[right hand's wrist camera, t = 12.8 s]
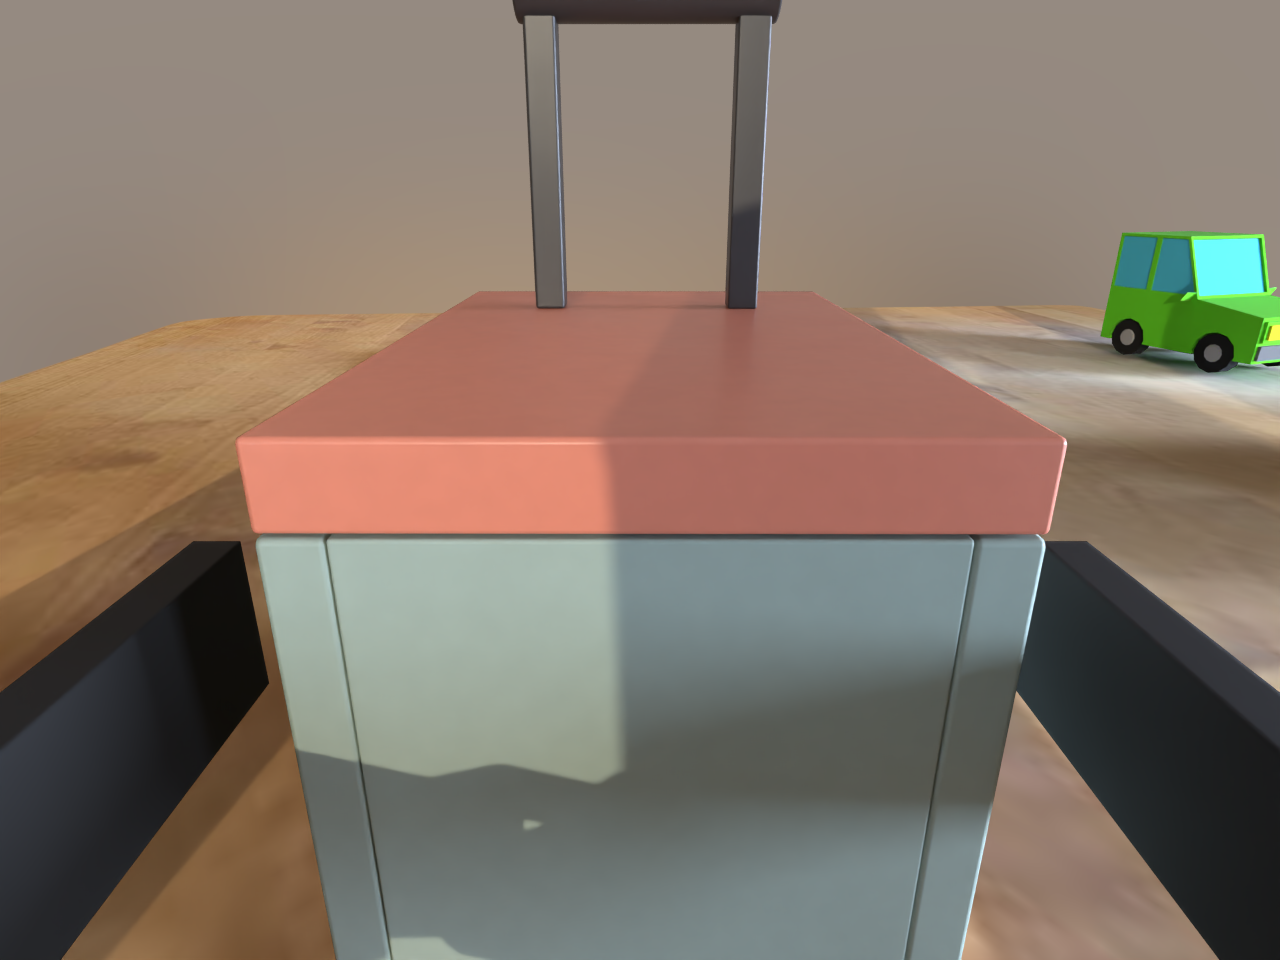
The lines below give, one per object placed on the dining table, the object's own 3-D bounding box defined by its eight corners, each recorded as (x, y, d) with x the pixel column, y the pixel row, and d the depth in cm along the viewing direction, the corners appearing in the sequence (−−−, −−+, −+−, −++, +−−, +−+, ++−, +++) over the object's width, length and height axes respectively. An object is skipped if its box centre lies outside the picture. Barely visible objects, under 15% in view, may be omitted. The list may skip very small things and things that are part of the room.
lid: (480, 334, 22) (453, -27, 19) (811, 334, 22) (839, -27, 19) (249, 536, 9) (46, -501, 6) (1051, 537, 9) (1266, -503, 6)
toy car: (1240, 382, 57) (1279, 242, 53) (1088, 350, 69) (1113, 233, 65) (1332, 373, 60) (1375, 239, 56) (1172, 343, 72) (1199, 231, 68)
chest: (498, 632, 25) (476, 339, 22) (791, 633, 25) (814, 339, 22) (355, 1071, 13) (250, 540, 9) (940, 1073, 13) (1049, 541, 9)
